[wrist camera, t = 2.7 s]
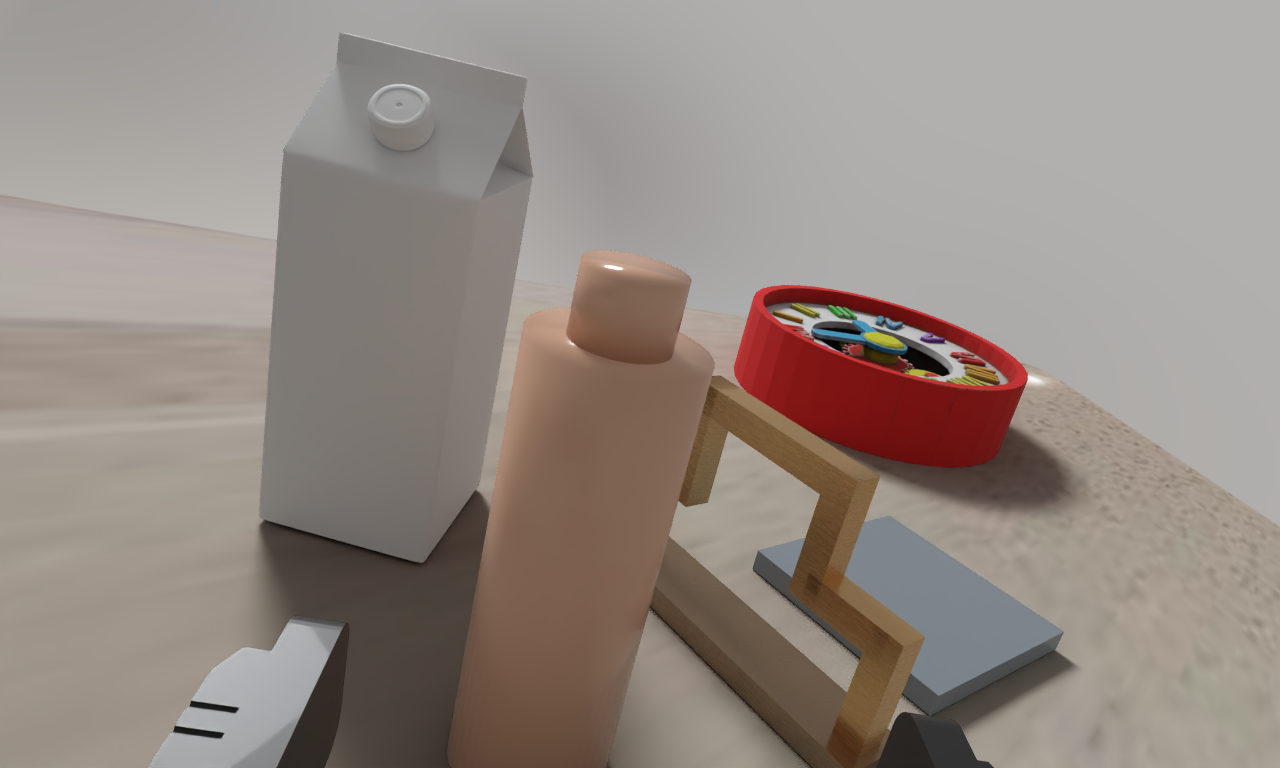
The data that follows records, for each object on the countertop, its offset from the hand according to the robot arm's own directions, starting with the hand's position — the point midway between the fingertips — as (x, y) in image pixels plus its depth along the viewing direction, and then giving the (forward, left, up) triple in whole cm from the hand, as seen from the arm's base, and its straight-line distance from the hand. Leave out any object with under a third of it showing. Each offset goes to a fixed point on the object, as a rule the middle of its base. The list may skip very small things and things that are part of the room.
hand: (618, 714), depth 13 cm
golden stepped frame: (-11, +16, -12) cm, 23 cm away
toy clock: (-28, +46, -13) cm, 56 cm away
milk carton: (-24, +7, -13) cm, 28 cm away
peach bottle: (-9, +6, -12) cm, 17 cm away
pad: (-9, +26, -12) cm, 31 cm away
